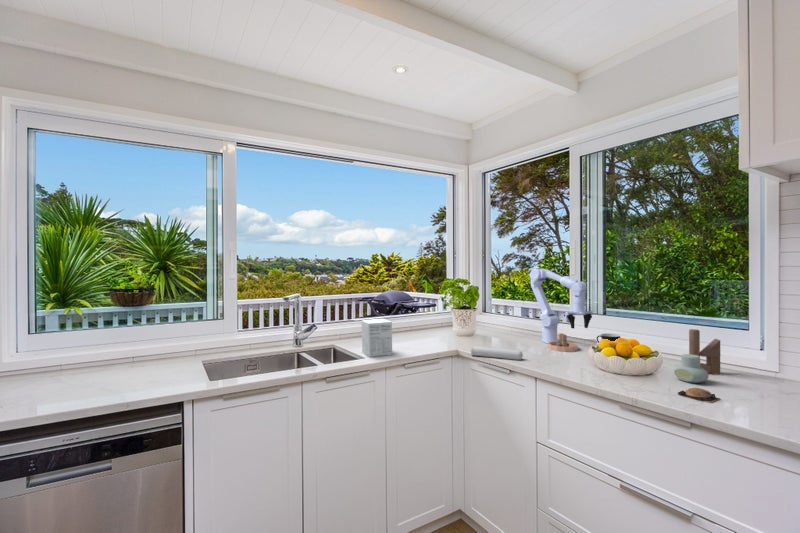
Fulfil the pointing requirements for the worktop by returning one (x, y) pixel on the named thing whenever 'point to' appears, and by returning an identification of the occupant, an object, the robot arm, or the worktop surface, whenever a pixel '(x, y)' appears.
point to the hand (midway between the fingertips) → (579, 328)
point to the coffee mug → (609, 337)
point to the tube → (496, 353)
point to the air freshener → (691, 369)
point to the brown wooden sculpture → (705, 352)
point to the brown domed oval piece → (699, 395)
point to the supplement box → (376, 337)
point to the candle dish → (557, 347)
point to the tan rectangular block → (563, 340)
